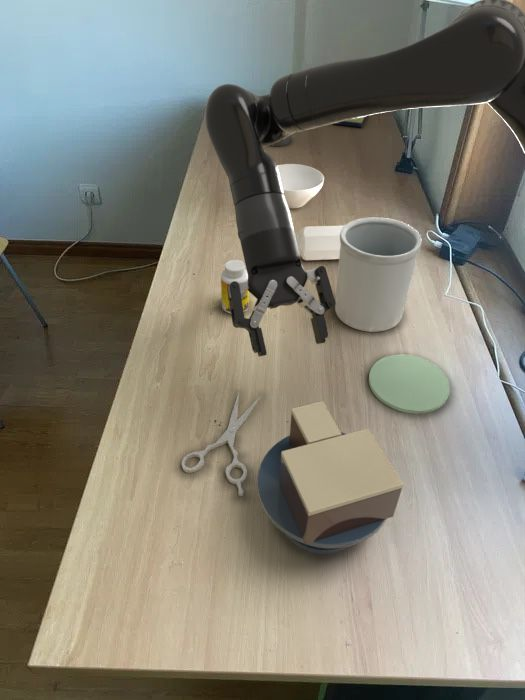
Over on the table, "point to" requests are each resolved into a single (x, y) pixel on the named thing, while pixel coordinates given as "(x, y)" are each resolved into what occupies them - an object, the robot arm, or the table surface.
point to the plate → (409, 383)
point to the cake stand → (329, 491)
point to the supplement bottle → (230, 274)
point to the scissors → (225, 438)
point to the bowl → (299, 183)
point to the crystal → (319, 242)
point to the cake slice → (311, 425)
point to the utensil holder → (375, 272)
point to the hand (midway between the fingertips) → (292, 349)
